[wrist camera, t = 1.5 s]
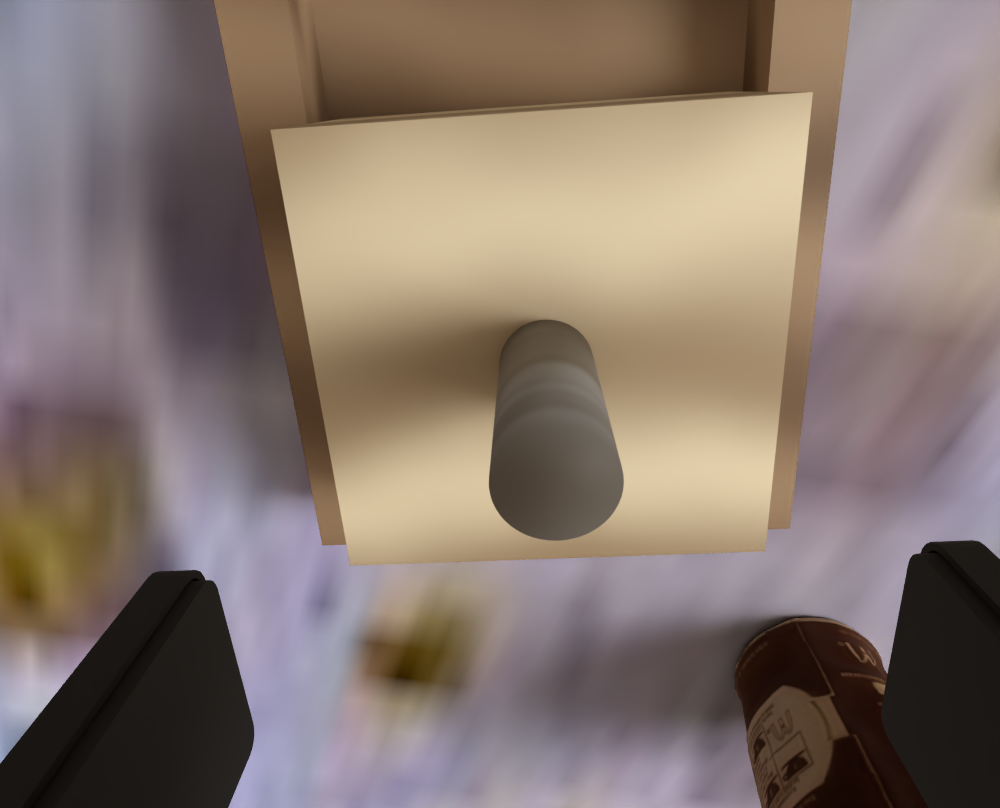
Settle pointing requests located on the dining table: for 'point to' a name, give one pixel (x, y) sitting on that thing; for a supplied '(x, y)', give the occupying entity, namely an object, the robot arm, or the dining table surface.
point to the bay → (521, 82)
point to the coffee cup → (819, 720)
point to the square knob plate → (550, 321)
